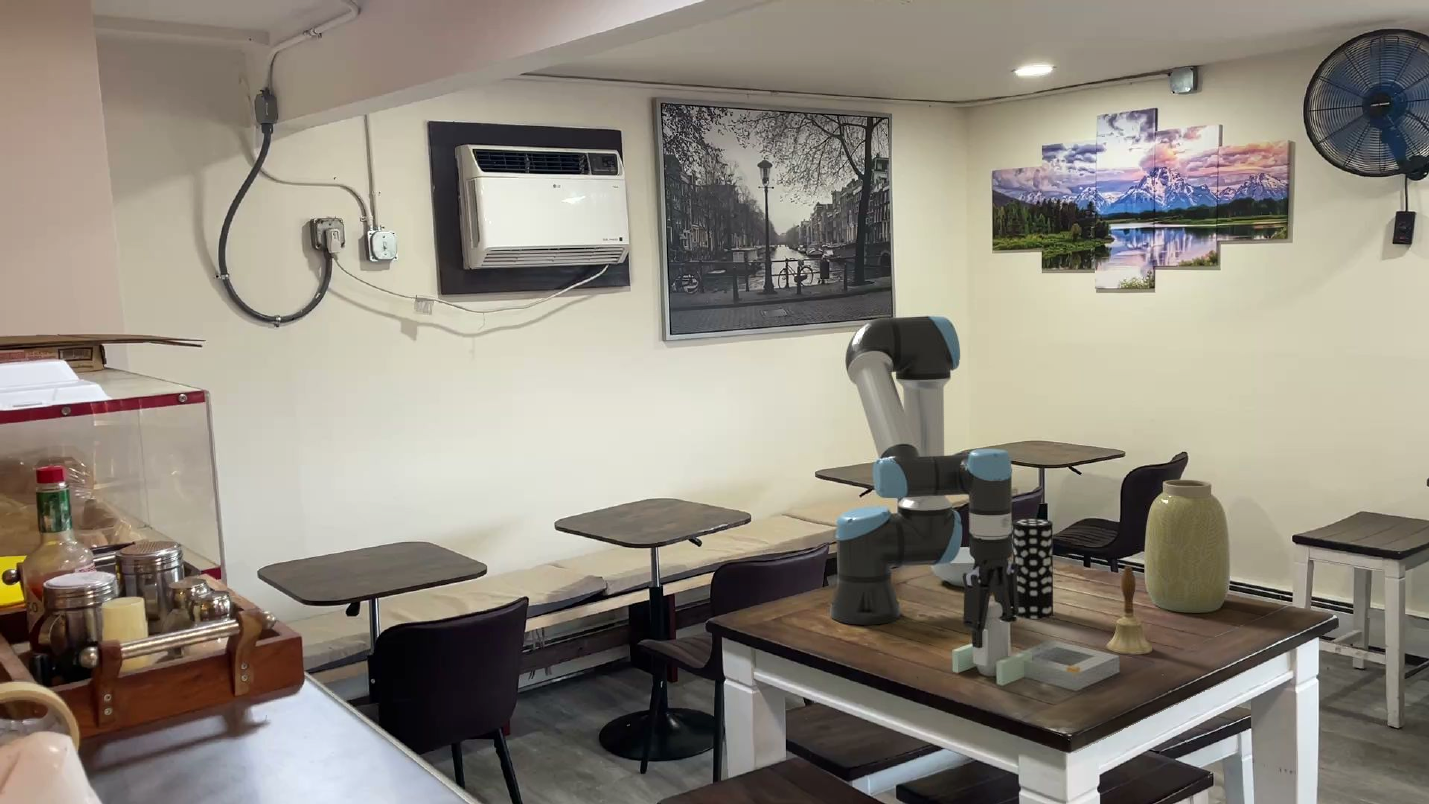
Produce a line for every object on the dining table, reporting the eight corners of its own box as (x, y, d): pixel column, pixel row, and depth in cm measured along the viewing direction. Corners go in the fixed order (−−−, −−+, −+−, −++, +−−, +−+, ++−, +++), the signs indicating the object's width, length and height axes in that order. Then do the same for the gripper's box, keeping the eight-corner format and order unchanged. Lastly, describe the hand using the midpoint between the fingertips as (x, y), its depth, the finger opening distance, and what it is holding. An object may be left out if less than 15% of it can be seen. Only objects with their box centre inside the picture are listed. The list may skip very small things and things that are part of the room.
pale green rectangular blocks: (952, 671, 206) (952, 650, 205) (982, 660, 212) (982, 639, 211) (1002, 685, 197) (1002, 663, 197) (1032, 673, 203) (1031, 652, 203)
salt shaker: (1008, 678, 201) (1007, 607, 200) (975, 677, 202) (974, 606, 201) (1006, 668, 207) (1005, 599, 206) (974, 667, 208) (973, 598, 207)
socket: (1007, 672, 204) (1007, 653, 204) (1051, 655, 213) (1051, 637, 213) (1076, 691, 194) (1076, 671, 193) (1119, 672, 202) (1119, 653, 202)
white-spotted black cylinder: (1013, 618, 239) (1012, 525, 237) (1012, 607, 247) (1011, 518, 245) (1054, 619, 237) (1053, 526, 235) (1052, 609, 245) (1051, 518, 243)
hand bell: (1098, 649, 216) (1098, 568, 215) (1118, 639, 222) (1118, 560, 221) (1140, 658, 210) (1140, 574, 209) (1159, 647, 216) (1159, 566, 215)
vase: (1240, 616, 235) (1241, 489, 232) (1154, 615, 237) (1154, 489, 235) (1217, 595, 251) (1217, 476, 249) (1136, 594, 254) (1136, 477, 252)
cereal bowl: (960, 571, 282) (959, 543, 281) (1015, 582, 269) (1015, 553, 268) (915, 583, 271) (915, 554, 271) (971, 595, 258) (971, 565, 258)
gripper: (975, 546, 193) (976, 677, 195) (1038, 529, 206) (1039, 652, 208) (940, 540, 199) (942, 667, 201) (1004, 524, 211) (1005, 644, 213)
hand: (991, 659), depth 204 cm, fingers open, 6 cm apart
